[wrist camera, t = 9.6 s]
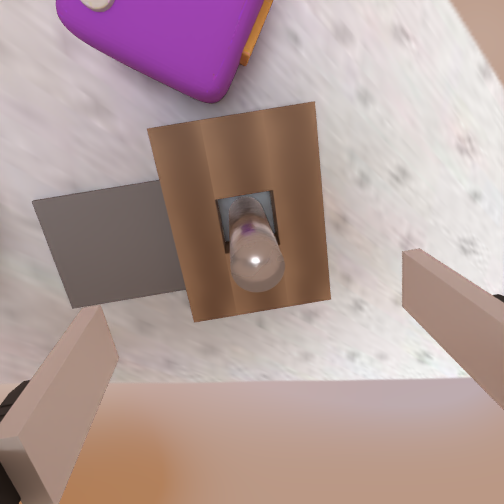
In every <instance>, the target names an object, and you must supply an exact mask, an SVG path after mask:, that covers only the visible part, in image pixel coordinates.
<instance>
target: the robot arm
mask: <svg viewBox="0 0 504 504" xmlns="http://www.w3.org/2000/svg"><path fill="white" fill-rule="evenodd" d="M402 307H403V308H404V309H405V310H406V311H407V312H408V313H409V314H410V315H411V316H412V317H413V318H414V319H415V320H416V321H417V322H418V323H419V324H420V325H421V326H422V327H423V328H424V329H425V330H426V331H427V332H428V333H429V334H430V335H431V336H432V337H433V338H434V339H435V340H436V341H437V342H438V344H439V345H440V346H441V347H442V348H443V349H444V350H445V351H446V352H447V353H448V354H449V355H450V356H451V357H452V358H453V359H454V360H455V361H456V362H457V363H458V364H459V365H460V366H461V367H462V368H463V369H464V370H465V371H466V372H467V373H468V374H469V375H470V376H471V377H472V378H473V379H474V380H475V381H476V382H477V383H478V384H479V385H480V386H481V387H482V388H483V389H484V391H485V392H487V394H489V396H490V397H491V398H492V399H493V400H494V401H495V402H496V403H497V404H498V405H499V406H500V407H501V408H502V409H503V410H504V296H502V295H499V294H496V295H491V294H489V293H488V292H486V291H485V290H483V289H482V288H480V287H479V286H477V285H475V284H474V283H472V282H471V281H469V280H468V279H466V278H465V277H463V276H462V275H460V274H458V273H457V272H455V271H454V270H452V269H451V268H449V267H448V266H446V265H445V264H443V263H441V262H440V261H438V260H437V259H435V258H434V257H432V256H431V255H429V254H427V253H426V252H424V251H423V250H421V249H420V248H419V249H414V250H408V251H402ZM118 359H119V356H118V353H117V350H116V348H115V345H114V342H113V339H112V336H111V333H110V330H109V328H108V325H107V322H106V319H105V316H104V313H103V311H102V308H101V305H96V306H90V307H85V308H82V309H81V311H80V312H79V313H78V315H77V316H76V318H75V319H74V320H73V322H72V323H71V325H70V326H69V327H68V329H67V330H66V331H65V333H64V334H63V336H62V337H61V338H60V340H59V341H58V343H57V344H56V345H55V347H54V348H53V350H52V351H51V352H50V354H49V355H48V357H47V358H46V359H45V361H44V362H43V364H42V365H41V366H40V368H39V369H38V371H37V372H36V373H35V375H34V376H33V378H32V379H31V380H28V381H23V382H22V383H21V384H20V385H19V386H17V387H16V388H15V389H14V390H13V391H12V392H10V393H9V394H8V396H7V397H6V398H5V400H4V401H3V402H2V404H1V405H0V504H19V502H20V500H21V502H22V504H59V502H60V499H61V497H62V494H63V492H64V490H65V487H66V485H67V482H68V480H69V478H70V475H71V473H72V470H73V468H74V465H75V463H76V460H77V458H78V456H79V453H80V451H81V448H82V446H83V444H84V441H85V439H86V436H87V434H88V432H89V429H90V427H91V424H92V422H93V420H94V417H95V415H96V412H97V410H98V407H99V405H100V403H101V400H102V398H103V395H104V393H105V391H106V388H107V386H108V383H109V381H110V378H111V376H112V374H113V371H114V369H115V366H116V364H117V362H118Z"/></svg>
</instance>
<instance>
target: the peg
mask: <svg viewBox="0 0 504 504" xmlns="http://www.w3.org/2000/svg"><path fill="white" fill-rule="evenodd" d="M229 238H230V269H231V275H232V277H233V279H234V281H235V282H236V284H237V285H238V286H240V287H241V288H242V289H244V290H247V291H250V292H264V291H267V290H269V289H271V288H273V287H274V286H276V285H277V284H278V283H279V282H280V280H281V279H282V277H283V274H284V271H285V262H284V258H283V256H282V253H281V251H280V249H279V246H278V244H277V241H276V239H275V237H274V234H273V232H272V229H271V227H270V225H269V222H268V220H267V217H266V215H265V213H264V210H263V208H262V206H261V204H260V203H259V202H258V201H257V200H256V199H254V198H252V197H240V198H238V199H236V200H235V201H234V202H233V203H232V204H231V206H230V209H229Z"/></svg>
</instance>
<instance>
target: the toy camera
mask: <svg viewBox="0 0 504 504" xmlns="http://www.w3.org/2000/svg"><path fill="white" fill-rule="evenodd" d="M272 2H273V0H56V10H57V14H58V17H59V19H60V20H61V22H62V23H63V24H64V26H65V27H66V28H67V29H68V30H69V31H70V32H71V33H73V34H74V35H75V36H76V37H78V38H79V39H81V40H82V41H84V42H85V43H87V44H88V45H90V46H92V47H93V48H95V49H97V50H99V51H101V52H102V53H104V54H106V55H108V56H110V57H112V58H113V59H115V60H117V61H119V62H121V63H123V64H125V65H127V66H129V67H131V68H133V69H135V70H137V71H139V72H141V73H143V74H145V75H147V76H149V77H151V78H153V79H155V80H157V81H159V82H161V83H163V84H165V85H167V86H169V87H171V88H173V89H175V90H177V91H179V92H181V93H183V94H186V95H188V96H190V97H192V98H194V99H197V100H199V101H202V102H206V103H215V102H218V101H220V100H221V99H222V98H223V97H224V95H225V94H226V92H227V91H228V89H229V87H230V85H231V82H232V80H233V78H234V76H235V73H236V71H237V68H238V66H239V64H242V65H243V66H246V65H247V63H248V61H249V58H250V56H251V53H252V51H253V48H254V46H255V44H256V41H257V39H258V36H259V34H260V31H261V29H262V27H263V24H264V22H265V19H266V17H267V14H268V12H269V9H270V7H271V5H272Z"/></svg>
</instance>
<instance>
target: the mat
mask: <svg viewBox="0 0 504 504" xmlns="http://www.w3.org/2000/svg"><path fill="white" fill-rule="evenodd" d="M32 204H33V206H34V209H35V212H36V214H37V217H38V219H39V222H40V225H41V227H42V230H43V233H44V235H45V238H46V240H47V243H48V246H49V248H50V251H51V254H52V256H53V259H54V261H55V264H56V267H57V269H58V272H59V275H60V277H61V280H62V282H63V285H64V288H65V290H66V293H67V296H68V298H69V301H70V303H71V306H72V309H73V308H79V307H85V306H91V305H97V304H103V303H109V302H115V301H121V300H127V299H133V298H139V297H145V296H151V295H157V294H162V293H168V292H174V291H180V290H186V287H185V282H184V278H183V274H182V270H181V266H180V262H179V258H178V254H177V250H176V246H175V242H174V237H173V233H172V229H171V225H170V221H169V217H168V213H167V209H166V205H165V201H164V196H163V192H162V188H161V184H160V180H156V181H150V182H144V183H138V184H132V185H126V186H119V187H113V188H107V189H101V190H95V191H89V192H83V193H77V194H71V195H65V196H59V197H52V198H46V199H40V200H34V201H32Z"/></svg>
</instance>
